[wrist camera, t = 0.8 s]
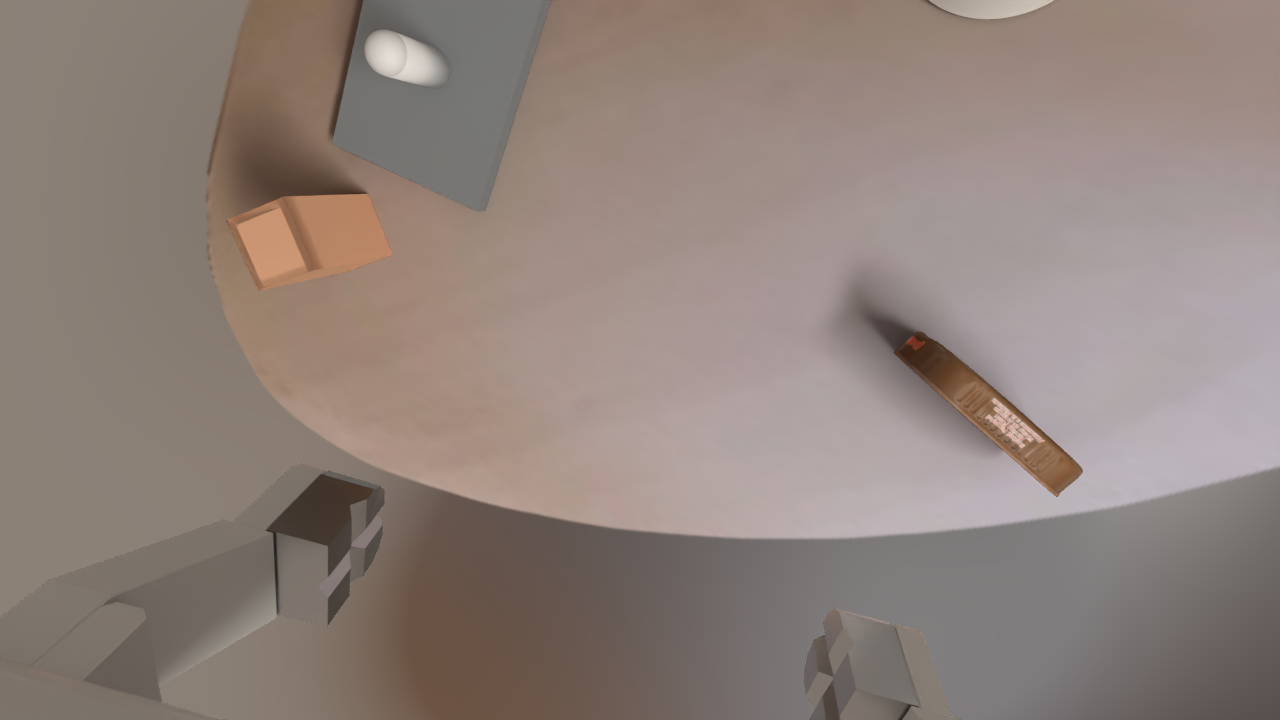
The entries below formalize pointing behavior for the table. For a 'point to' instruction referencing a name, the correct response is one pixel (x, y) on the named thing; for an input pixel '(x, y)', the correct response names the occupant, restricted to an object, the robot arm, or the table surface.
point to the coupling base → (438, 89)
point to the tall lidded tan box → (308, 238)
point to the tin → (990, 412)
